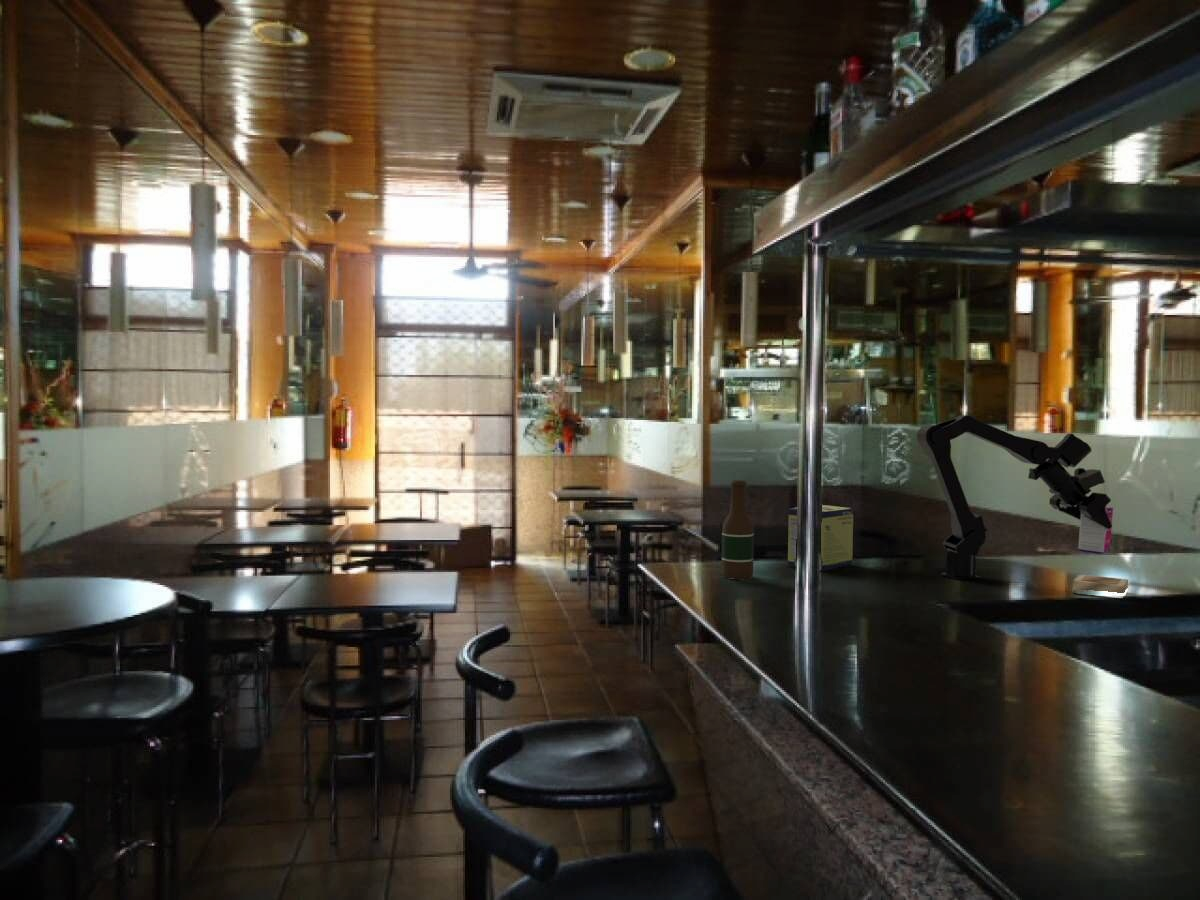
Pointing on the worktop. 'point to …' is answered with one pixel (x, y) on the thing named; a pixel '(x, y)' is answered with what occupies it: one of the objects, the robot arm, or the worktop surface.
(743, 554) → the beer bottle
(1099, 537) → the supplement box
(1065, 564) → the worktop surface
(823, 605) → the worktop surface
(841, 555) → the protein box
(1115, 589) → the beech base block
